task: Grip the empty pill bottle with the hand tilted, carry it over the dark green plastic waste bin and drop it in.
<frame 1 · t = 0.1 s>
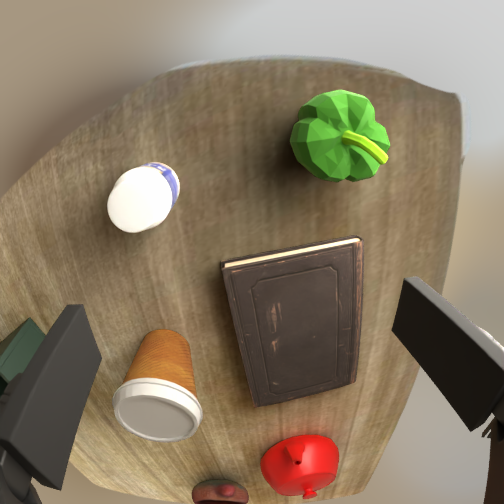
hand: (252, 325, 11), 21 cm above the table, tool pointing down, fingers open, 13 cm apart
bell pepper: (317, 137, 29), on the table
hardcover book: (299, 328, 37), on the table
disposable coffee cup: (166, 347, 36), on the table
bowl: (216, 478, 52), on the table
pill bottle: (154, 187, 28), on the table
teapot: (295, 445, 49), on the table
waste bin: (39, 364, 35), on the table
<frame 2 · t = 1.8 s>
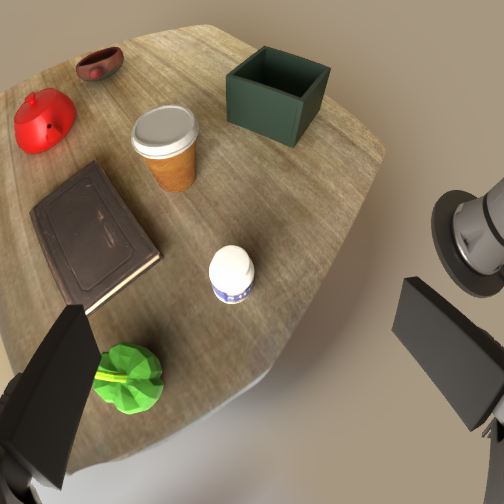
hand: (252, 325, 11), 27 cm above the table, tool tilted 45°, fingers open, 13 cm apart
bell pepper: (143, 376, 35), on the table
hardcover book: (87, 236, 42), on the table
disposable coffee cup: (177, 177, 46), on the table
bowl: (106, 77, 58), on the table
pill bottle: (232, 285, 40), on the table
teapot: (52, 135, 50), on the table
waste bin: (275, 113, 53), on the table
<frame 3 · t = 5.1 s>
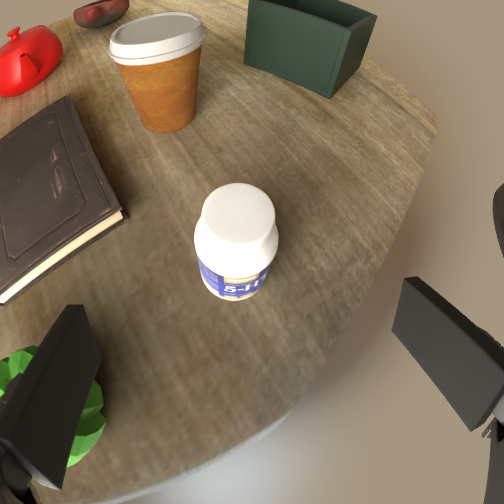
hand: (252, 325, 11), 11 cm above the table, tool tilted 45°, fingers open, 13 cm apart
bell pepper: (78, 403, 18), on the table
hardcover book: (36, 186, 26), on the table
disposable coffee cup: (168, 116, 31), on the table
bowl: (107, 26, 44), on the table
pill bottle: (234, 270, 24), on the table
teapot: (32, 80, 35), on the table
waste bin: (305, 63, 38), on the table
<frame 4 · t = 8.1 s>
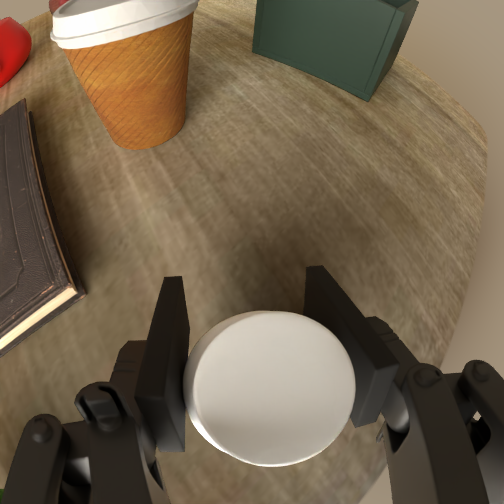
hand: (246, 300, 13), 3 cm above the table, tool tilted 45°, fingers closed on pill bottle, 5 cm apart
disposable coffee cup: (147, 124, 21), on the table
bowl: (87, 16, 34), on the table
pill bottle: (249, 382, 15), on the table, touching gripper
waste bin: (330, 54, 28), on the table
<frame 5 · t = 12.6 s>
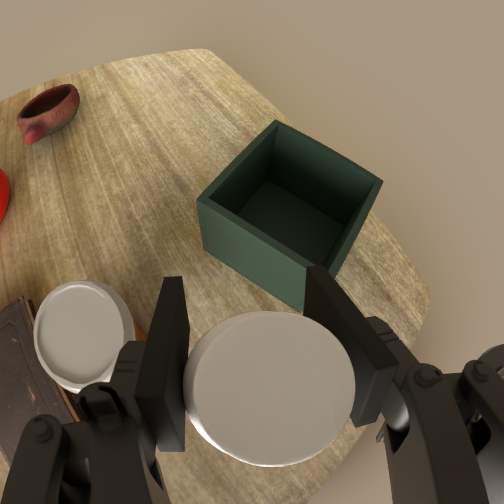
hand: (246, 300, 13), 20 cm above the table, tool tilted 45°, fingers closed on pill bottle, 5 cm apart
hardcover book: (24, 402, 25), on the table
disposable coffee cup: (124, 349, 30), on the table
bowl: (58, 129, 43), on the table
pill bottle: (249, 382, 15), point 17 cm above the table, touching gripper
waste bin: (281, 237, 37), on the table
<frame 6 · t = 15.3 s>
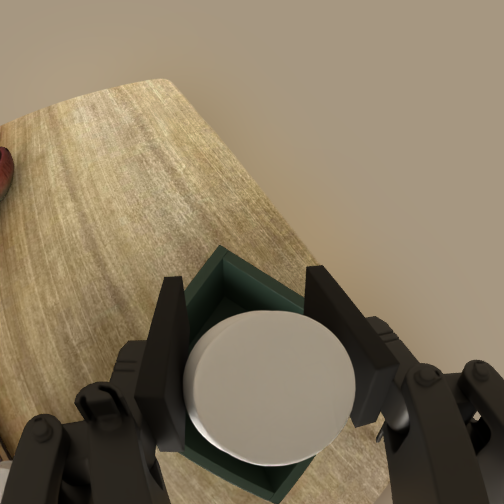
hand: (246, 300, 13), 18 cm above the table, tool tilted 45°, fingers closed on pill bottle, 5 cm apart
pill bottle: (249, 382, 15), point 14 cm above the table, touching gripper
waste bin: (241, 378, 27), on the table
when the fingers open (11 cm above the table, at t = 17.9 s): pill bottle stays where it is, resting on waste bin.
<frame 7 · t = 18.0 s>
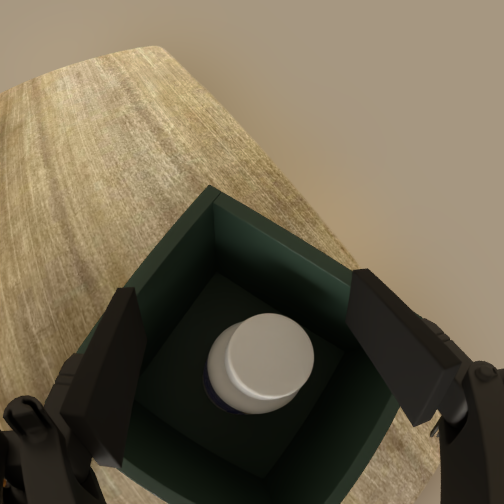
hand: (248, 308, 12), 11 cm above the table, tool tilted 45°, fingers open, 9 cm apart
pill bottle: (239, 379, 20), point 1 cm above the table, touching waste bin
waste bin: (238, 378, 21), on the table
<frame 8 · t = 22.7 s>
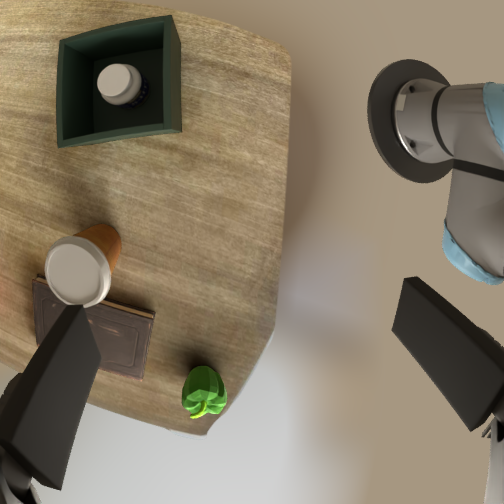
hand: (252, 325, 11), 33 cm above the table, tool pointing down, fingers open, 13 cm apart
bell pepper: (203, 374, 54), on the table
hardcover book: (90, 328, 47), on the table
disposable coffee cup: (103, 242, 42), on the table
pill bottle: (132, 91, 34), point 1 cm above the table, touching waste bin
waste bin: (133, 91, 34), on the table
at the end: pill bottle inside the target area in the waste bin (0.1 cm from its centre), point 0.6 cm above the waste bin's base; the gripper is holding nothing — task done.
